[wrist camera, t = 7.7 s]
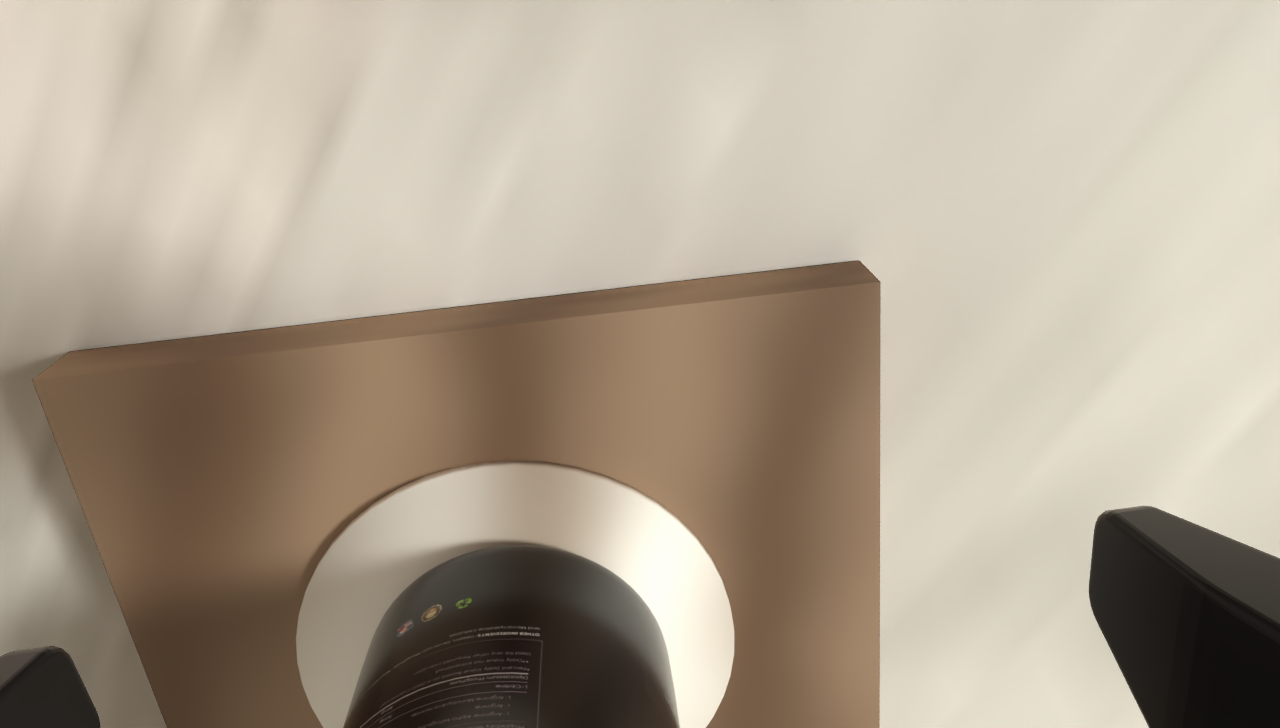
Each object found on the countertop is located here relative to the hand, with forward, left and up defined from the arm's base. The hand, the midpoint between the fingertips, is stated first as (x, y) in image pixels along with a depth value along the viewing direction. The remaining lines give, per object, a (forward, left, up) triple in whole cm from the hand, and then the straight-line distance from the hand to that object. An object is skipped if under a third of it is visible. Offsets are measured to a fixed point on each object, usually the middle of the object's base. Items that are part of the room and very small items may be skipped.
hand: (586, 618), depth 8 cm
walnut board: (+3, +9, -13) cm, 16 cm away
